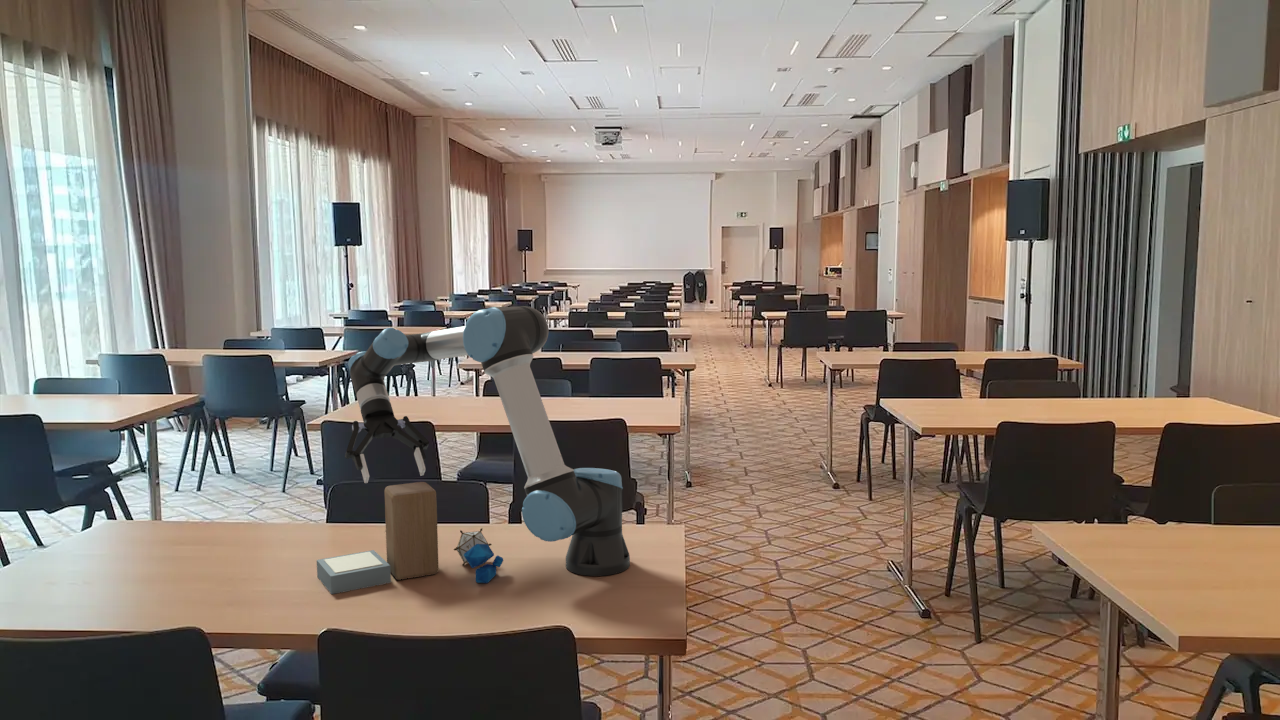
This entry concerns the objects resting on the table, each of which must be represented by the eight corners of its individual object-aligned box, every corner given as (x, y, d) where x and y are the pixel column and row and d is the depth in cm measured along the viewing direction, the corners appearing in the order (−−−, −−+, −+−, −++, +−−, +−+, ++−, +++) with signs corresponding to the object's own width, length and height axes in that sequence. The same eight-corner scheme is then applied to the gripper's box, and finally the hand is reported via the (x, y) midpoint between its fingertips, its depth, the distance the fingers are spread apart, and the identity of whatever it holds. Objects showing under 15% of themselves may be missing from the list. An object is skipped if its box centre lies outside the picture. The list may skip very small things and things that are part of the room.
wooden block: (395, 581, 203) (392, 494, 201) (386, 568, 212) (383, 485, 209) (439, 574, 207) (437, 489, 205) (428, 562, 216) (426, 480, 214)
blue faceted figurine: (510, 542, 209) (490, 546, 197) (507, 580, 208) (487, 586, 196) (480, 540, 211) (458, 544, 199) (477, 578, 210) (456, 584, 198)
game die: (477, 580, 214) (480, 555, 208) (446, 565, 215) (448, 540, 209) (495, 552, 221) (499, 527, 214) (464, 538, 222) (467, 513, 215)
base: (390, 582, 202) (390, 564, 202) (331, 594, 195) (330, 575, 195) (374, 566, 213) (373, 549, 213) (317, 576, 206) (316, 559, 206)
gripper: (420, 410, 236) (442, 477, 225) (322, 419, 223) (340, 491, 212) (426, 392, 231) (449, 460, 220) (326, 401, 218) (345, 474, 207)
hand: (395, 476), depth 216 cm, fingers open, 13 cm apart
